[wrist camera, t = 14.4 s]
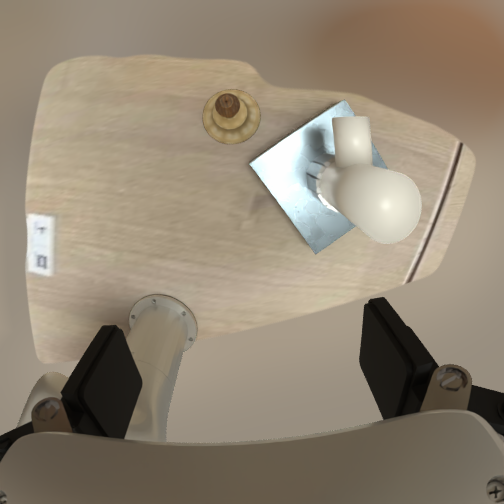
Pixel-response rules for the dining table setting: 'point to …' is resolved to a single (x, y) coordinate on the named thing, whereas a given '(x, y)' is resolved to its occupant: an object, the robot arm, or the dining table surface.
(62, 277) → the dining table surface
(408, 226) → the white tall branched piece
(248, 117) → the hand bell
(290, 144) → the vent box
